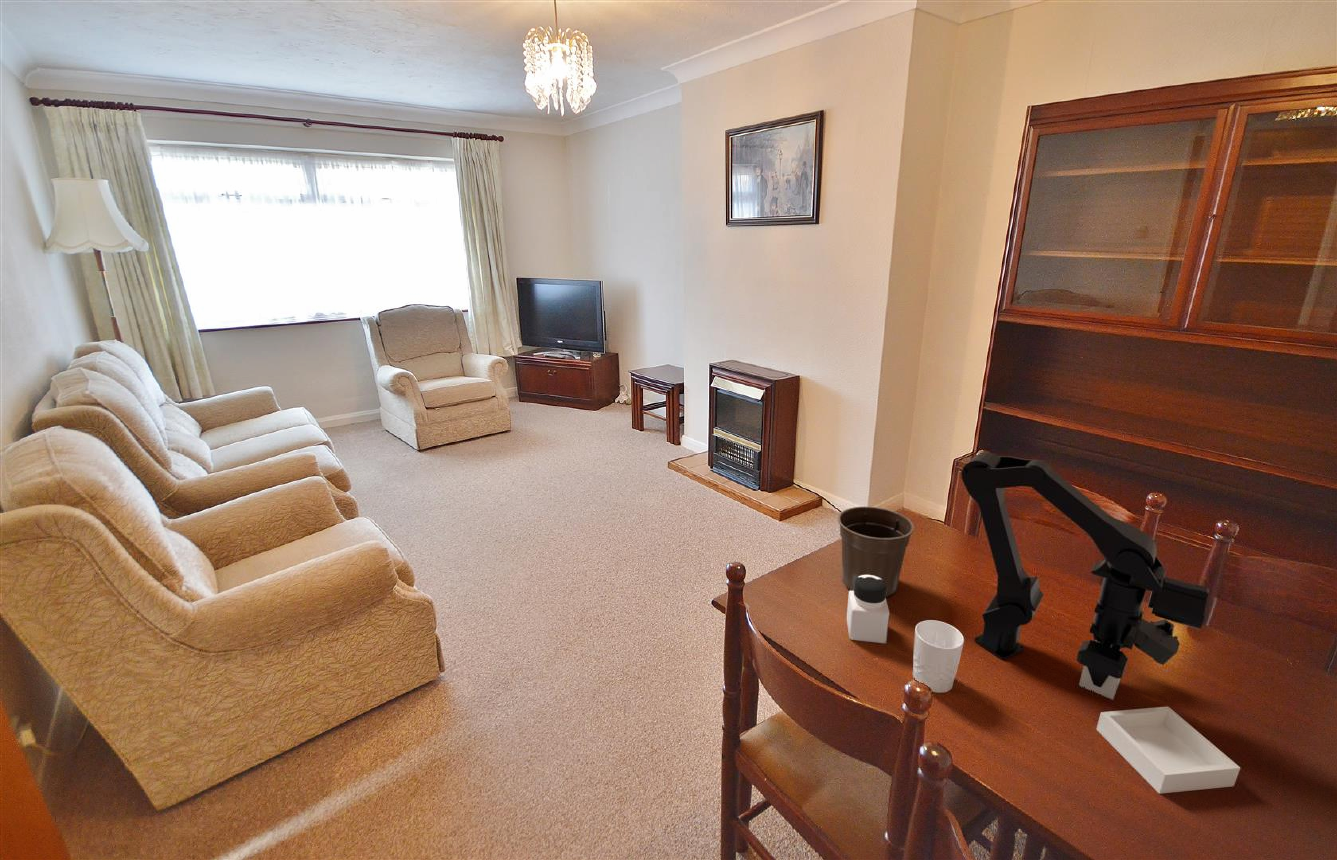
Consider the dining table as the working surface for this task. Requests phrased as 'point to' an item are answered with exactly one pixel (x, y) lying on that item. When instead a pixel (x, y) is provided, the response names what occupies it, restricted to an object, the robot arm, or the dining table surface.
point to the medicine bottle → (868, 610)
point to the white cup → (936, 654)
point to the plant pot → (873, 544)
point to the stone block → (1106, 689)
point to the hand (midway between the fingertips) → (1100, 678)
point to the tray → (1167, 750)
